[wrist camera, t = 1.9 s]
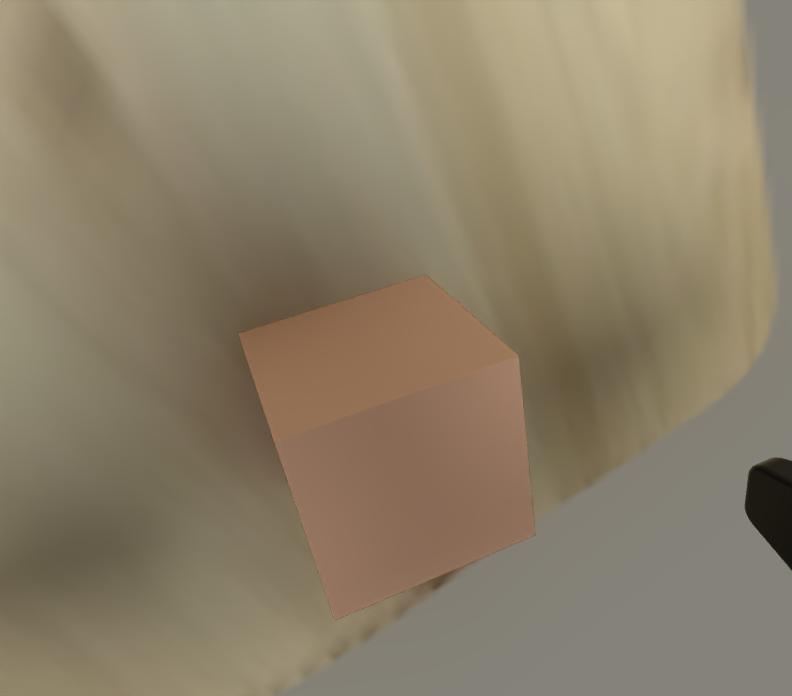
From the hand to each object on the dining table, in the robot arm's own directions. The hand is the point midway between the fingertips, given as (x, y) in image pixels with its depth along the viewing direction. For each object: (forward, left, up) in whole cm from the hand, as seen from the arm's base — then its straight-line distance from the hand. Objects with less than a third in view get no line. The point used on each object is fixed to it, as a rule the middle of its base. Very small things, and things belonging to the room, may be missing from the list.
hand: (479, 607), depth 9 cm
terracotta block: (0, 0, -6) cm, 6 cm away
